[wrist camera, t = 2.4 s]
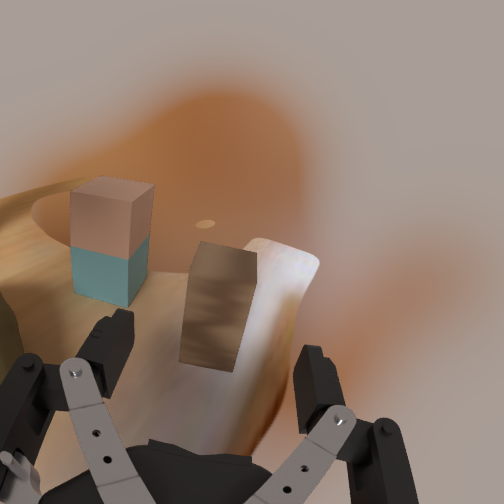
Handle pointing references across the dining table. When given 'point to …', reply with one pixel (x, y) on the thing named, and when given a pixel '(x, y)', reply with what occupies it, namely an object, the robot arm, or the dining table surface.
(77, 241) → the tower top
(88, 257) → the tower base
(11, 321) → the decorative stone
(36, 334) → the dining table surface
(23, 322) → the dining table surface
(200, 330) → the pillar
